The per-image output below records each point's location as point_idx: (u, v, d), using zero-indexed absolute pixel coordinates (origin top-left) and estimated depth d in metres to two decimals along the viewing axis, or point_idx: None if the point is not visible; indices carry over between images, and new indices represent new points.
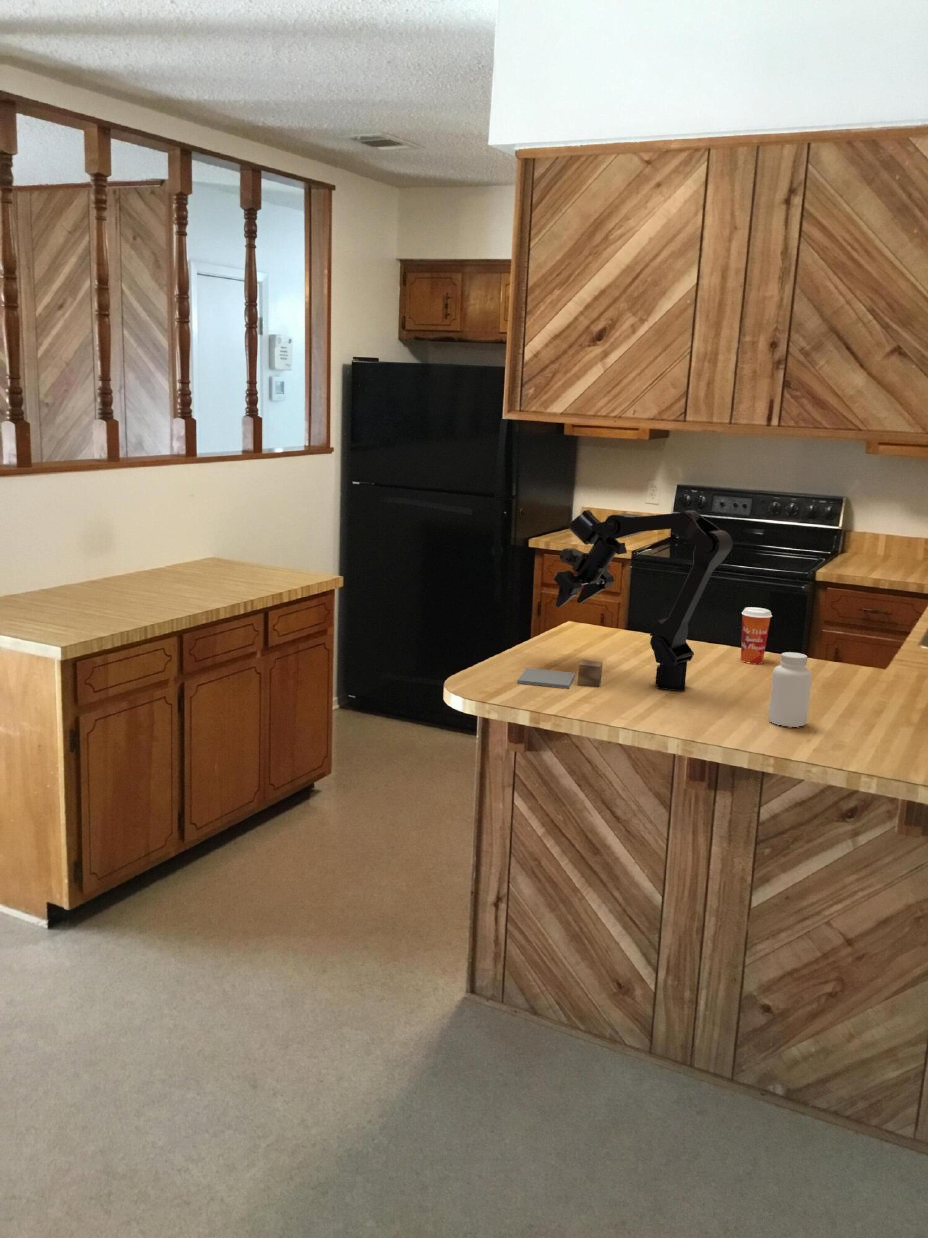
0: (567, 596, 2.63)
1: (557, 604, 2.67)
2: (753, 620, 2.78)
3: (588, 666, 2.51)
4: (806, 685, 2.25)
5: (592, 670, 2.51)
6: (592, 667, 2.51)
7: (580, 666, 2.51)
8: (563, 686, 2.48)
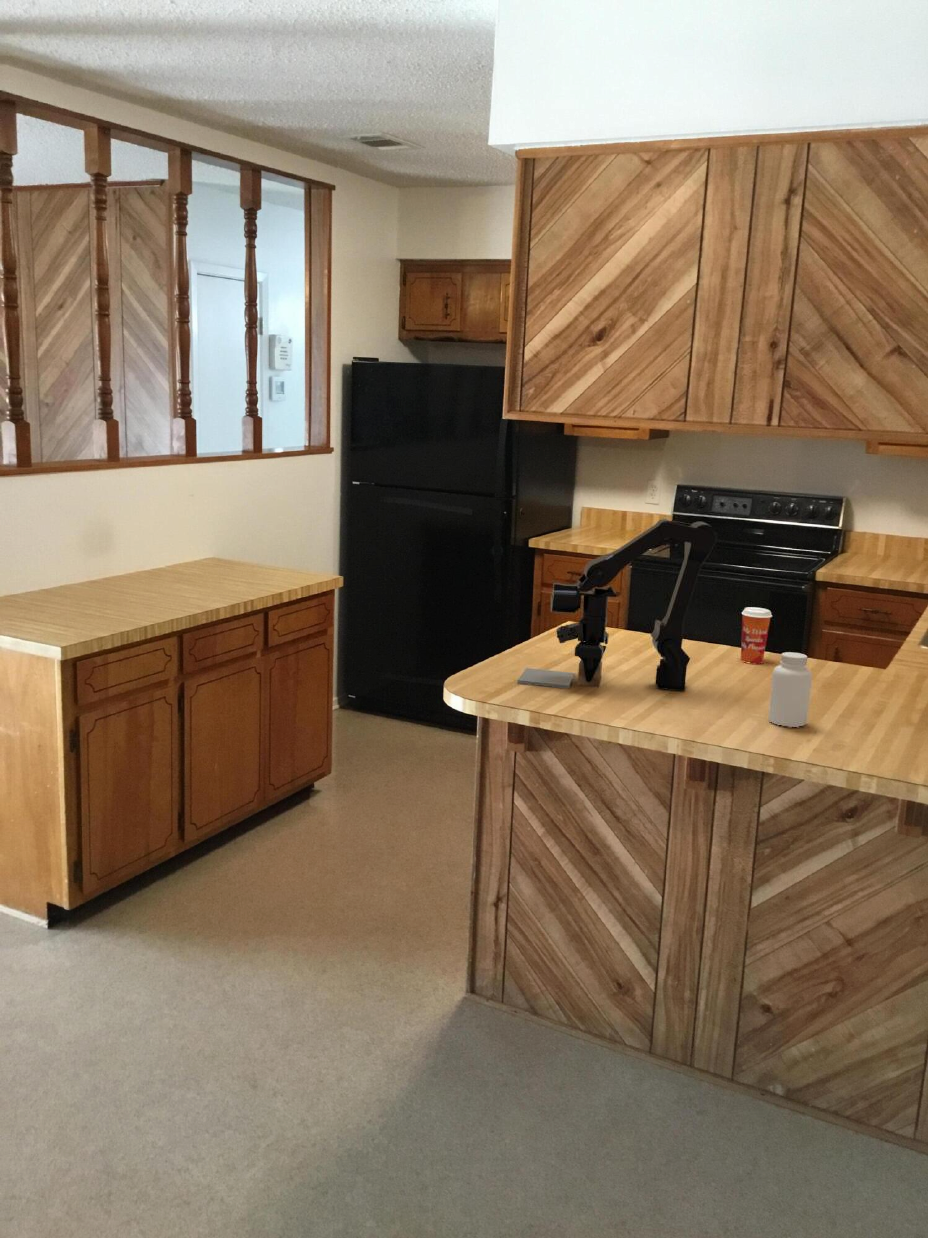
0: (596, 663, 2.48)
1: (588, 679, 2.51)
2: (753, 620, 2.78)
3: None
4: (806, 685, 2.25)
5: None
6: None
7: (580, 666, 2.51)
8: (563, 686, 2.48)
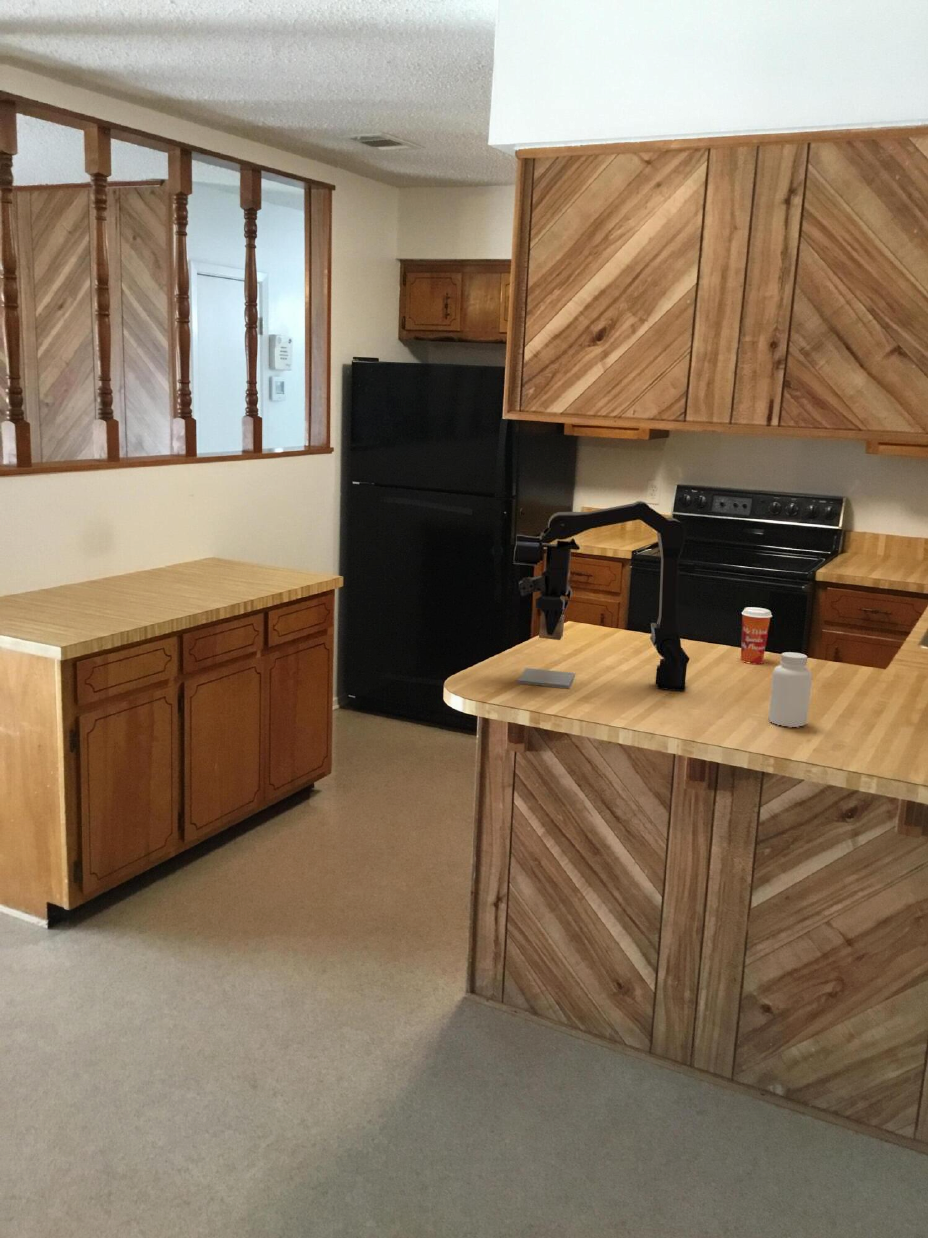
0: (557, 616, 2.47)
1: (549, 632, 2.50)
2: (753, 620, 2.78)
3: None
4: (806, 685, 2.25)
5: None
6: None
7: (542, 618, 2.50)
8: (563, 686, 2.48)
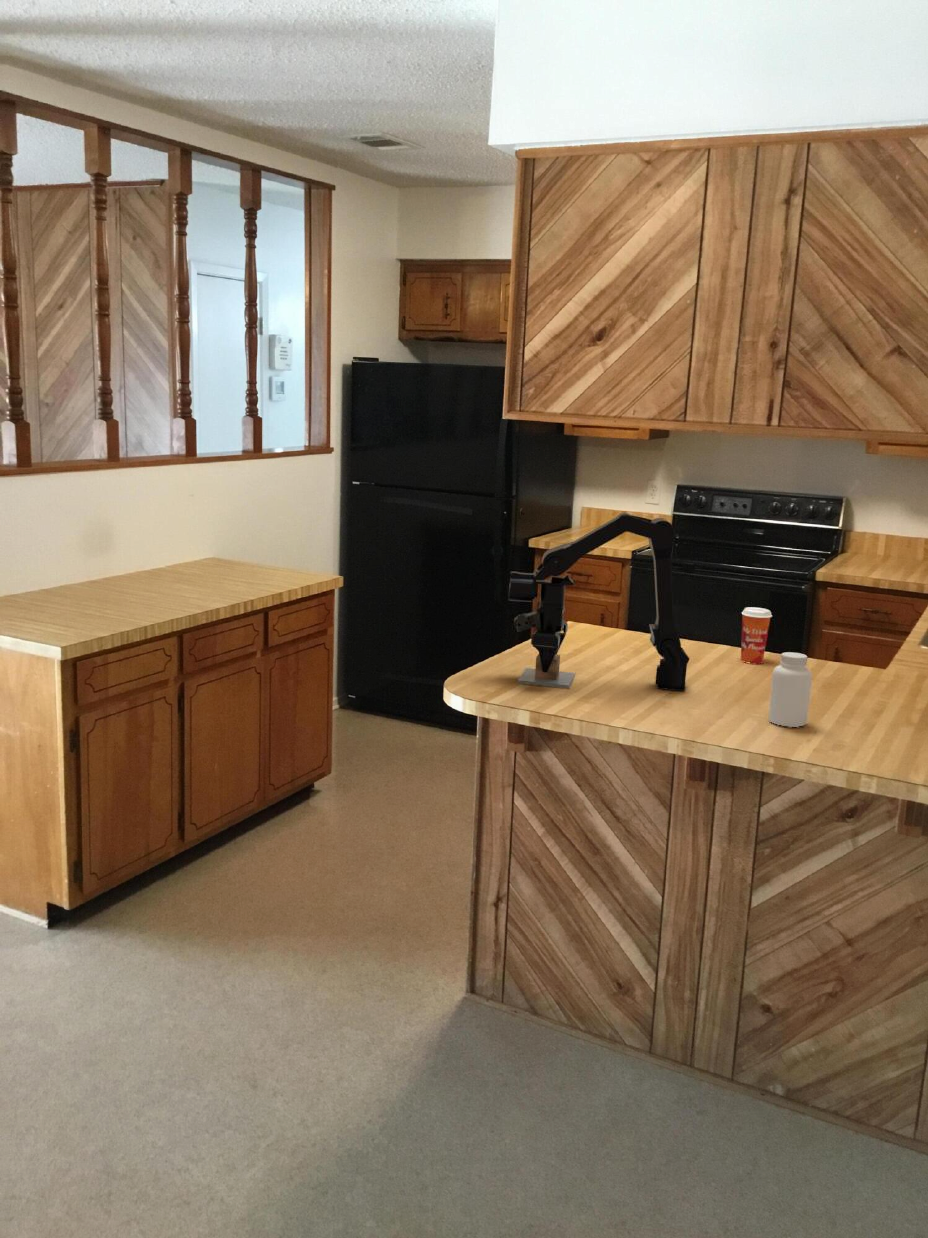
0: (552, 653, 2.47)
1: (544, 669, 2.50)
2: (753, 620, 2.78)
3: None
4: (806, 685, 2.25)
5: None
6: None
7: (537, 659, 2.52)
8: (563, 686, 2.48)
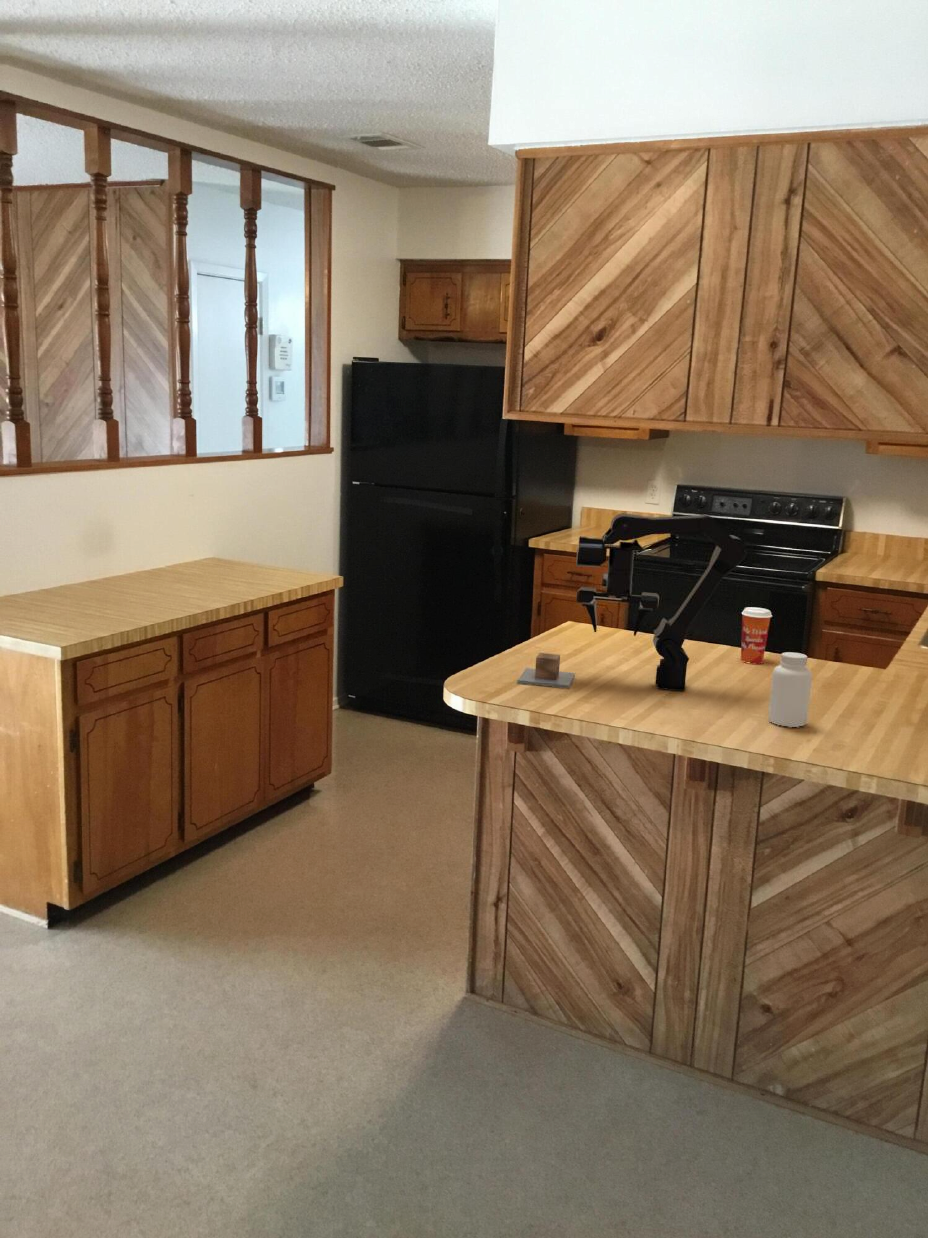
0: None
1: (594, 628, 2.53)
2: (753, 620, 2.78)
3: (545, 659, 2.52)
4: (806, 685, 2.25)
5: (549, 663, 2.52)
6: (549, 660, 2.51)
7: (537, 659, 2.52)
8: (563, 686, 2.48)
